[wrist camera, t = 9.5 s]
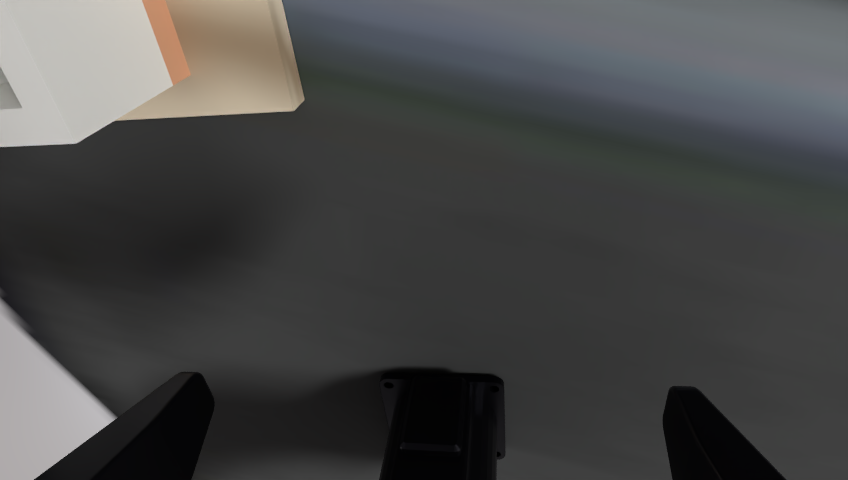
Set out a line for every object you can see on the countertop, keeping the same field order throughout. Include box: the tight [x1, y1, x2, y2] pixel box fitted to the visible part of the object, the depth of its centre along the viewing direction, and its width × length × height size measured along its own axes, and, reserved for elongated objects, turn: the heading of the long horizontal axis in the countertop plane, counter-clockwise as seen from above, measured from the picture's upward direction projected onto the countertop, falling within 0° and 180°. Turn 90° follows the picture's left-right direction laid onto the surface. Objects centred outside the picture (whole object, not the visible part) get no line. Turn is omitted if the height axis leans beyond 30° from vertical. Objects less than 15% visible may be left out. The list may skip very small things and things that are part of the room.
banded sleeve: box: [0, 0, 191, 147], centre depth 15 cm, size 5×5×6 cm
